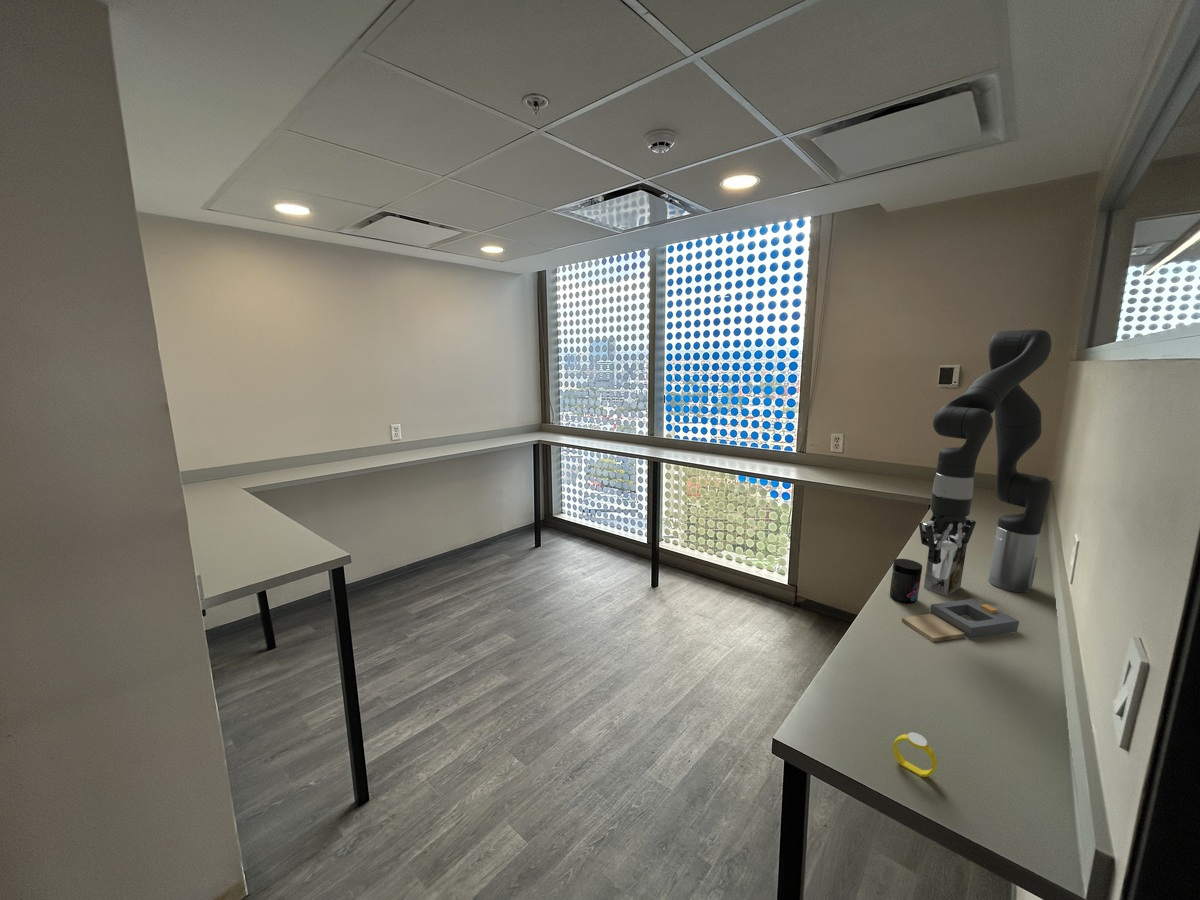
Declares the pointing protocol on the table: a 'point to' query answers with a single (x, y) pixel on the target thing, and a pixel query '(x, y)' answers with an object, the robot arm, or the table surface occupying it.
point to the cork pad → (933, 627)
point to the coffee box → (954, 577)
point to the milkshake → (945, 560)
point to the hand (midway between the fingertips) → (942, 561)
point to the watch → (919, 743)
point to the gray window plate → (975, 618)
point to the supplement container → (905, 581)
